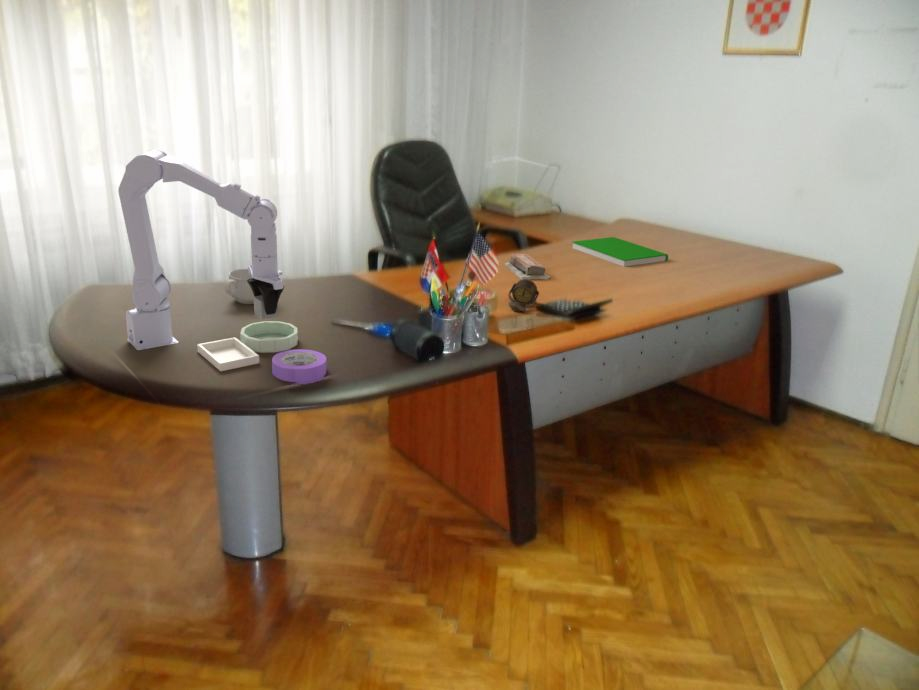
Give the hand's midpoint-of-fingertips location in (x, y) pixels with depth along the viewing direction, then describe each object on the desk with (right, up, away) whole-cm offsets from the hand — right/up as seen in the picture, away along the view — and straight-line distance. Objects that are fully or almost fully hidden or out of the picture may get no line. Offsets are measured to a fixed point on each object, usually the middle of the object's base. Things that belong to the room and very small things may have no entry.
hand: (266, 310), depth 178 cm
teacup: (-14, +4, +31) cm, 35 cm away
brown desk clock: (+63, +3, +43) cm, 76 cm away
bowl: (0, -8, +4) cm, 9 cm away
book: (+105, +25, +107) cm, 152 cm away
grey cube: (0, -1, 0) cm, 1 cm away
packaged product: (+68, +16, +77) cm, 104 cm away
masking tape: (+10, -15, -11) cm, 21 cm away
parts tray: (-7, -11, -6) cm, 15 cm away
